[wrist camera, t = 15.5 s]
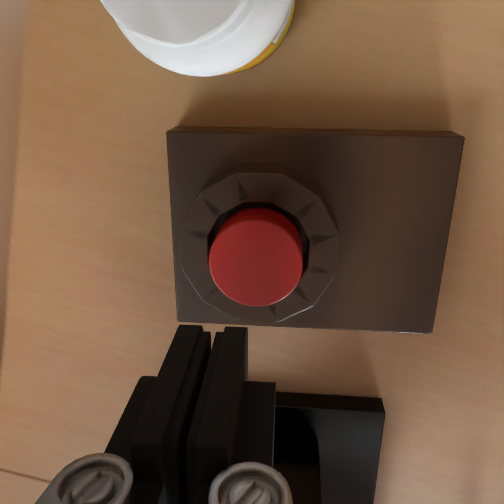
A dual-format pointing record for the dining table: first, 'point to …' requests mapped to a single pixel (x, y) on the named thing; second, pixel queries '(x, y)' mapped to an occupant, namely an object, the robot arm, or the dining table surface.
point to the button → (256, 257)
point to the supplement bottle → (204, 32)
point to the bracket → (328, 446)
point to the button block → (319, 221)
